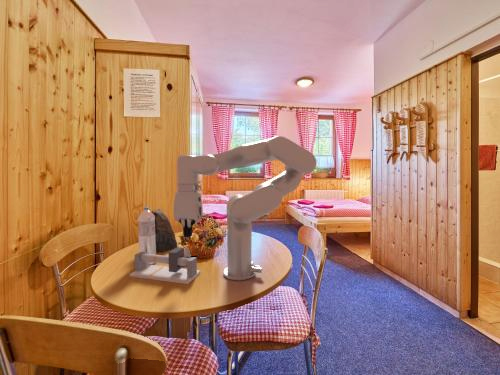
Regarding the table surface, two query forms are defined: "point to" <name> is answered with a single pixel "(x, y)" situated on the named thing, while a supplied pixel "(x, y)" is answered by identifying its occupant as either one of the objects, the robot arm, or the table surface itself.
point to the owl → (163, 232)
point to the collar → (175, 259)
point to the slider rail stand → (164, 268)
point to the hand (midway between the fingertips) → (187, 236)
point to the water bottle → (147, 233)
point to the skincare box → (187, 252)
